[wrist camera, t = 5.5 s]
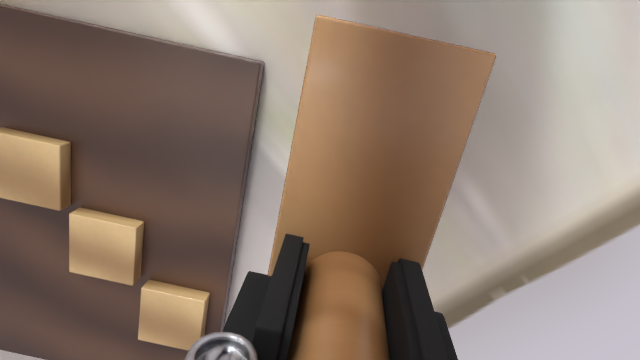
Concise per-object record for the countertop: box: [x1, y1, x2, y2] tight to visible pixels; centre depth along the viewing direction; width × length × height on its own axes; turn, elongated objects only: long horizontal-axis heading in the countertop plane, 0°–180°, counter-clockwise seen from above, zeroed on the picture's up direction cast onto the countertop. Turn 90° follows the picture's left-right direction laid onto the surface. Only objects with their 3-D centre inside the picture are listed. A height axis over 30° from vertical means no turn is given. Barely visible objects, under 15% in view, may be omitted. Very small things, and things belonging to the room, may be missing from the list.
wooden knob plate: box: [268, 15, 496, 360], centre depth 10 cm, size 4×14×8 cm, turn 168°
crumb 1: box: [0, 127, 71, 211], centre depth 23 cm, size 4×4×1 cm
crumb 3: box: [138, 280, 210, 351], centre depth 26 cm, size 4×4×1 cm
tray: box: [0, 4, 264, 360], centre depth 25 cm, size 23×17×1 cm
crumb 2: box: [69, 207, 144, 285], centre depth 24 cm, size 4×4×1 cm
